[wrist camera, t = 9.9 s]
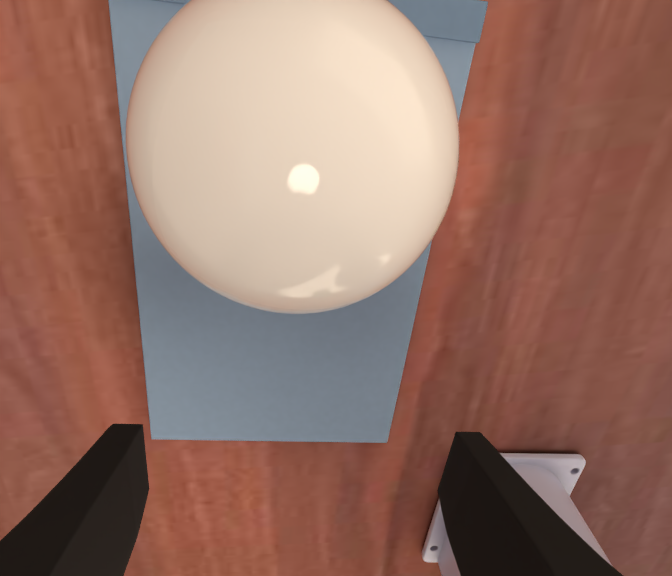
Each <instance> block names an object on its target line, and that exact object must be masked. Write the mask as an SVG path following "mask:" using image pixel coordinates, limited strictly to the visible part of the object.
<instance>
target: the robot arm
mask: <svg viewBox="0 0 672 576" xmlns="http://www.w3.org/2000/svg"><path fill="white" fill-rule="evenodd" d="M585 464H586V461H585V459H584V458H583V456H582V455H580V454H531V453H499V452H498V451H497V450H496V449H495V448H494V446H493V445H492V444H491V443H490V442H489V441H488V440H487V439H486V438H485V437H484V436H483V435H482V434H481V433H480V432H456V433H455V436H454V440H453V443H452V446H451V449H450V452H449V456H448V459H447V462H446V465H445V469H444V472H443V475H442V478H441V481H440V485H439V488H438V495H439V500H438V503H437V506H436V509H435V512H434V516H433V519H432V522H431V525H430V528H429V531H428V535H427V538H426V541H425V544H424V547H423V550H422V558H423V560H424V561H425V562H438V564H439V568H440V571H441V575H442V576H623V575H622V574H621V573H619V572H618V571H617V570H616V569H615V568H614V567H613V566H612V565H611V563H610V561H609V560H608V558H607V556H606V555H605V553H604V552H603V550H602V548H601V547H600V545H599V544H598V542H597V540H596V539H595V537H594V535H593V534H592V532H591V531H590V529H589V527H588V526H587V524H586V522H585V521H584V519H583V518H582V516H581V514H580V513H579V511H578V510H577V508H576V506H575V505H574V503H573V501H572V500H571V498H570V497H569V496H570V494H571V492H572V490H573V488H574V486H575V484H576V482H577V480H578V478H579V476H580V474H581V472H582V470H583V468H584V466H585ZM148 491H149V483H148V473H147V463H146V453H145V443H144V433H143V424H113V425H111V426H110V427H109V428H108V429H107V430H106V431H105V432H104V433H103V435H102V436H101V437H100V438H99V439H98V440H97V441H96V443H95V444H94V445H93V446H92V447H91V448H90V449H89V450H88V452H87V453H86V454H85V455H84V456H83V457H82V458H81V459H80V460H79V462H78V463H77V464H76V465H75V466H74V467H73V468H72V469H71V470H70V471H69V472H68V473H67V475H66V476H65V477H64V478H63V479H62V480H61V481H60V482H59V483H58V484H57V485H56V486H55V487H54V488H53V489H52V490H51V491H50V492H49V493H48V494H47V495H46V496H45V497H44V499H43V500H42V501H41V502H40V503H39V504H38V505H37V506H36V507H35V508H34V509H33V510H32V511H31V512H30V513H29V514H28V515H27V516H26V517H25V518H24V519H23V520H22V521H21V522H20V523H19V524H18V525H16V526H15V527H14V528H13V529H12V530H11V531H10V532H9V533H8V534H7V535H6V536H5V537H4V538H3V539H2V540H1V541H0V576H123V575H124V572H125V570H126V567H127V564H128V561H129V558H130V556H131V553H132V550H133V547H134V545H135V542H136V539H137V536H138V532H139V528H140V524H141V520H142V516H143V512H144V508H145V504H146V500H147V496H148Z"/></svg>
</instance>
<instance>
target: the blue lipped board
mask: <svg viewBox="0 0 672 576" xmlns="http://www.w3.org/2000/svg"><path fill="white" fill-rule="evenodd" d="M108 1H109V11H110V21H111V31H112V42H113V52H114V62H115V72H116V82H117V93H118V103H119V113H120V123H121V133H122V144H123V154H124V164H125V174H126V184H127V195H128V205H129V215H130V225H131V236H132V246H133V256H134V266H135V276H136V287H137V297H138V307H139V317H140V327H141V338H142V348H143V358H144V368H145V378H146V389H147V399H148V409H149V419H150V429H151V439H168V440H236V441H303V442H370V443H387V441H388V436H389V432H390V427H391V423H392V418H393V414H394V409H395V405H396V400H397V396H398V391H399V387H400V382H401V378H402V373H403V369H404V364H405V360H406V355H407V351H408V346H409V342H410V337H411V332H412V328H413V323H414V319H415V314H416V310H417V305H418V301H419V296H420V292H421V287H422V283H423V278H424V274H425V269H426V265H427V260H428V256H429V251H430V247H431V242H432V240H431V242H430V243H429V245H428V246H427V248H426V249H425V250H424V252H423V253H422V254H421V255H420V257H419V258H418V259H417V260H416V261H415V262H414V263H413V264H412V266H411V267H409V268H408V269H407V270H406V271H405V272H404V273H403V274H402V275H401V276H400V277H399V278H397V279H396V280H395V281H393V282H392V283H391V284H389V285H388V286H387V287H385V288H384V289H382V290H380V291H379V292H377V293H375V294H374V295H372V296H370V297H368V298H366V299H364V300H361V301H359V302H357V303H354V304H352V305H349V306H346V307H342V308H339V309H335V310H331V311H326V312H320V313H311V314H283V313H274V312H268V311H263V310H258V309H255V308H251V307H248V306H245V305H242V304H239V303H237V302H234V301H232V300H229V299H227V298H225V297H223V296H221V295H219V294H217V293H216V292H214V291H212V290H210V289H209V288H207V287H206V286H204V285H203V284H201V283H200V282H199V281H197V280H196V279H195V278H193V277H192V276H191V275H190V274H188V273H187V272H186V271H185V270H184V269H183V268H182V267H181V266H180V265H179V264H178V263H177V262H176V261H175V260H174V259H173V258H172V257H171V256H170V255H169V253H168V252H167V251H166V250H165V249H164V247H163V246H162V245H161V243H160V242H159V240H158V239H157V238H156V236H155V235H154V233H153V231H152V230H151V228H150V226H149V225H148V223H147V221H146V219H145V217H144V215H143V213H142V210H141V208H140V206H139V203H138V201H137V198H136V195H135V192H134V189H133V185H132V182H131V177H130V173H129V167H128V161H127V152H126V120H127V111H128V105H129V100H130V95H131V91H132V88H133V84H134V81H135V78H136V75H137V73H138V70H139V68H140V65H141V63H142V61H143V59H144V57H145V55H146V53H147V51H148V49H149V47H150V46H151V44H152V42H153V41H154V39H155V38H156V36H157V35H158V33H159V32H160V31H161V29H162V28H163V27H164V25H165V24H166V23H167V22H168V21H169V20H170V19H171V17H172V16H173V15H174V14H175V13H176V12H177V11H178V10H179V9H180V8H182V7H183V6H184V5H185V4H186V3H187V2H189V1H190V0H108ZM388 1H389V2H390V3H392V4H393V5H394V6H395V7H396V8H398V9H399V10H400V11H401V12H402V13H403V14H404V15H405V16H406V17H407V18H408V19H409V20H410V21H411V22H412V23H413V24H414V25H415V26H416V27H417V29H418V30H419V31H420V32H421V33H422V35H423V36H424V38H425V39H426V40H427V42H428V43H429V45H430V46H431V48H432V49H433V51H434V53H435V54H436V56H437V58H438V60H439V62H440V64H441V66H442V68H443V70H444V72H445V74H446V77H447V79H448V82H449V85H450V88H451V91H452V94H453V98H454V102H455V106H456V112H457V117H458V120H459V116H460V111H461V107H462V102H463V98H464V93H465V89H466V84H467V80H468V75H469V71H470V66H471V62H472V57H473V53H474V48H475V44H476V43H479V41H480V36H481V32H482V27H483V23H484V19H485V14H486V10H487V5H488V2H486V1H479V0H388Z"/></svg>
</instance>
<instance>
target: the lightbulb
mask: <svg viewBox="0 0 672 576" xmlns="http://www.w3.org/2000/svg"><path fill="white" fill-rule="evenodd" d="M459 142H460V141H459V125H458V117H457V112H456V106H455V102H454V98H453V94H452V91H451V88H450V85H449V82H448V79H447V77H446V74H445V72H444V70H443V68H442V66H441V64H440V62H439V60H438V58H437V56H436V54H435V53H434V51H433V49H432V48H431V46H430V45H429V43H428V42H427V40H426V39H425V38H424V36H423V35H422V33H421V32H420V31H419V30H418V29H417V27H416V26H415V25H414V24H413V23H412V22H411V21H410V20H409V19H408V18H407V17H406V16H405V15H404V14H403V13H402V12H401V11H400V10H399V9H398V8H396V7H395V6H394V5H393V4H392V3H390V2H389V1H388V0H190V1H189V2H187V3H186V4H185V5H184V6H183V7H182V8H180V9H179V10H178V11H177V12H176V13H175V14H174V15H173V16H172V17H171V19H170V20H169V21H168V22H167V23H166V24H165V25H164V27H163V28H162V29H161V31H160V32H159V33H158V35H157V36H156V38H155V39H154V41H153V42H152V44H151V46H150V47H149V49H148V51H147V53H146V55H145V57H144V59H143V61H142V63H141V65H140V68H139V70H138V73H137V75H136V78H135V81H134V84H133V88H132V91H131V95H130V100H129V105H128V111H127V120H126V152H127V161H128V167H129V173H130V177H131V182H132V185H133V189H134V192H135V195H136V198H137V201H138V203H139V206H140V208H141V210H142V213H143V215H144V217H145V219H146V221H147V223H148V225H149V226H150V228H151V230H152V231H153V233H154V235H155V236H156V238H157V239H158V240H159V242H160V243H161V245H162V246H163V247H164V249H165V250H166V251H167V252H168V253H169V255H170V256H171V257H172V258H173V259H174V260H175V261H176V262H177V263H178V264H179V265H180V266H181V267H182V268H183V269H184V270H185V271H186V272H187V273H188V274H190V275H191V276H192V277H193V278H195V279H196V280H197V281H199V282H200V283H201V284H203V285H204V286H206V287H207V288H209V289H210V290H212V291H214V292H216V293H217V294H219V295H221V296H223V297H225V298H227V299H229V300H232V301H234V302H237V303H239V304H242V305H245V306H248V307H251V308H255V309H258V310H263V311H268V312H274V313H283V314H311V313H320V312H326V311H331V310H335V309H339V308H342V307H346V306H349V305H352V304H354V303H357V302H359V301H361V300H364V299H366V298H368V297H370V296H372V295H374V294H375V293H377V292H379V291H380V290H382V289H384V288H385V287H387V286H388V285H389V284H391V283H392V282H393V281H395V280H396V279H397V278H399V277H400V276H401V275H402V274H403V273H404V272H405V271H406V270H407V269H408V268H409V267H411V266H412V264H413V263H414V262H415V261H416V260H417V259H418V258H419V257H420V255H421V254H422V253H423V252H424V250H425V249H426V248H427V246H428V245H429V243H430V242H431V240H432V239H433V237H434V236H435V234H436V232H437V230H438V229H439V227H440V225H441V223H442V221H443V218H444V216H445V214H446V212H447V209H448V206H449V204H450V201H451V198H452V194H453V191H454V186H455V182H456V177H457V171H458V163H459Z"/></svg>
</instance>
